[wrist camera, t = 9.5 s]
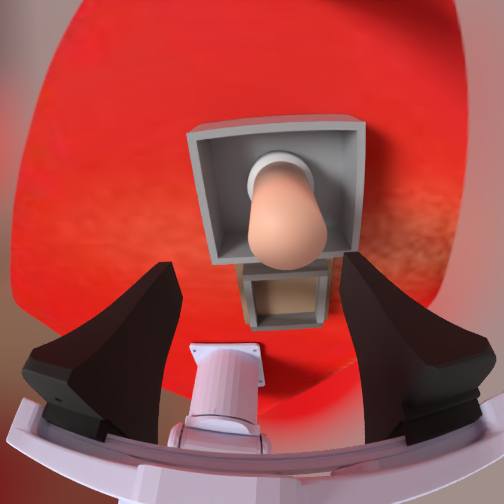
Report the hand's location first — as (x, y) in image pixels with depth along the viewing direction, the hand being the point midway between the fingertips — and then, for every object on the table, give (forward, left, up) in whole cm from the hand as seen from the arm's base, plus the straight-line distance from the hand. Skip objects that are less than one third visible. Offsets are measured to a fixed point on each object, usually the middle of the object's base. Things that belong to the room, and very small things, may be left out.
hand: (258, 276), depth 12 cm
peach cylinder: (+1, -1, -10) cm, 10 cm away
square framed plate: (-9, -1, -10) cm, 14 cm away
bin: (+1, -1, -10) cm, 10 cm away
